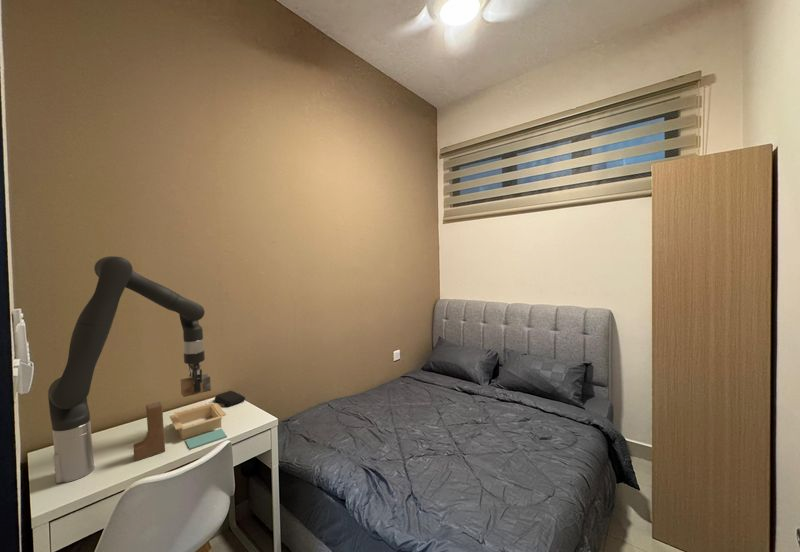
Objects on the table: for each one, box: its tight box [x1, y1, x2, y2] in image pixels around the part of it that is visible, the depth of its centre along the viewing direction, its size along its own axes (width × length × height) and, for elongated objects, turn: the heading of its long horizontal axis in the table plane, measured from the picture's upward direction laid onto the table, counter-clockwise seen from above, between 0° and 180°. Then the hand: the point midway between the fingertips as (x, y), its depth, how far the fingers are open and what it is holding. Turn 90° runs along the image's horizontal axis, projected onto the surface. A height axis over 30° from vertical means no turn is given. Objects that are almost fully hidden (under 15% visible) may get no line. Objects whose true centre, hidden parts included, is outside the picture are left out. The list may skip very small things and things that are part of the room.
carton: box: [169, 402, 227, 440], centre depth 147 cm, size 18×19×5 cm
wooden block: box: [133, 401, 166, 462], centre depth 127 cm, size 9×4×18 cm, turn 131°
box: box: [180, 373, 212, 398], centre depth 146 cm, size 10×5×6 cm, turn 131°
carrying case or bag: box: [214, 390, 246, 407], centre depth 172 cm, size 11×3×15 cm
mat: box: [185, 428, 228, 450], centre depth 137 cm, size 13×8×1 cm, turn 131°
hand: (196, 389), depth 146 cm, fingers closed on box, 5 cm apart
